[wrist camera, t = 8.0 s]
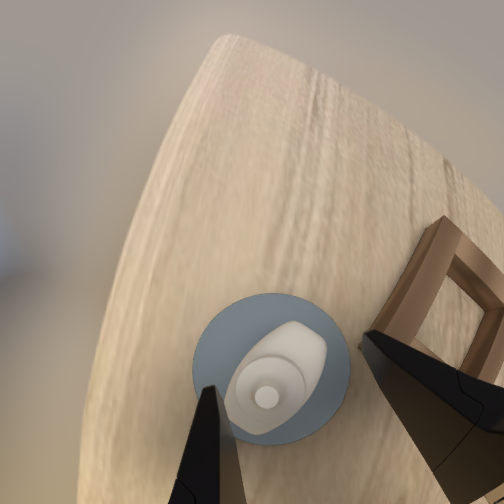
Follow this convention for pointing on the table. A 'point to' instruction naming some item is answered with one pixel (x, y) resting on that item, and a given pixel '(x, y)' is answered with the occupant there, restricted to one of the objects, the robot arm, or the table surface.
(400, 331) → the walnut socket block
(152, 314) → the table surface
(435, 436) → the robot arm
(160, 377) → the table surface
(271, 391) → the eye dropper bottle
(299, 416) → the slate-blue rubber mat
